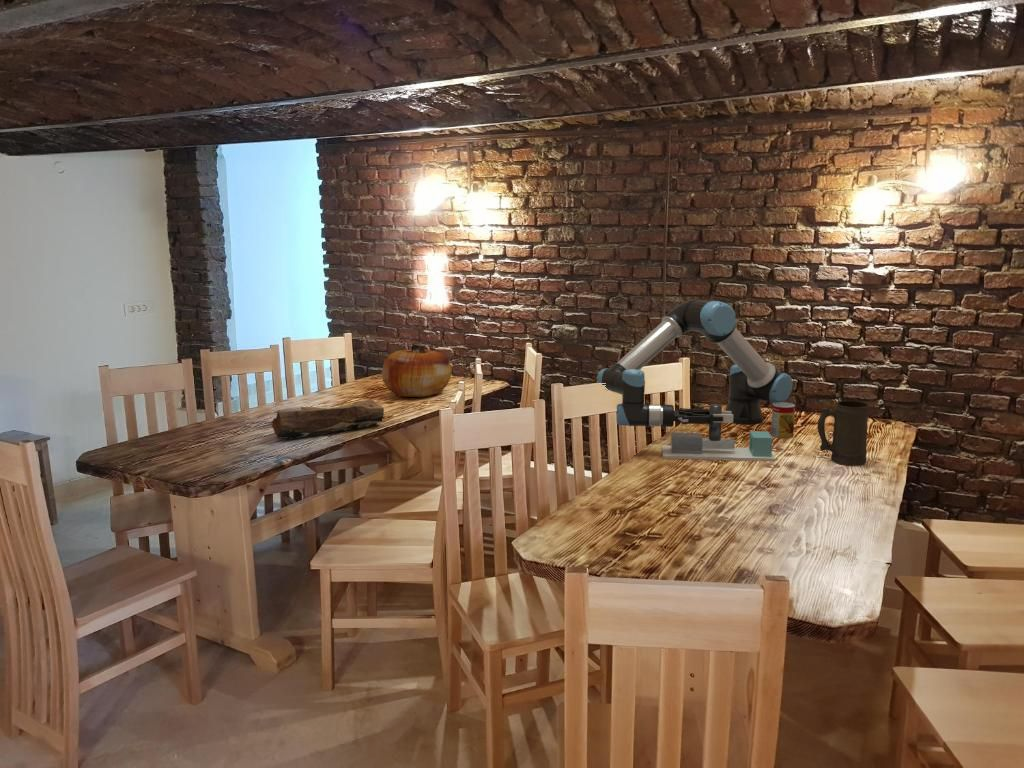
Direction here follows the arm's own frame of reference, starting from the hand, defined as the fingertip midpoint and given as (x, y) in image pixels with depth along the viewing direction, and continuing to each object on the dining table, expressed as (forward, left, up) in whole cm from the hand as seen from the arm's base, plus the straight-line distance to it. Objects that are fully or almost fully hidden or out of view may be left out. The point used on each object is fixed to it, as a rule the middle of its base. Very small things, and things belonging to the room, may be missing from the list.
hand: (731, 416), depth 250 cm
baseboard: (+3, -3, -14) cm, 14 cm away
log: (+105, -111, -14) cm, 154 cm away
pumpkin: (+49, -153, -14) cm, 161 cm away
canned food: (-33, -6, -14) cm, 37 cm away
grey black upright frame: (+7, -6, -11) cm, 15 cm away
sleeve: (+11, -9, -13) cm, 19 cm away
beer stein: (-24, +25, -14) cm, 38 cm away
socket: (-7, +6, -13) cm, 16 cm away
